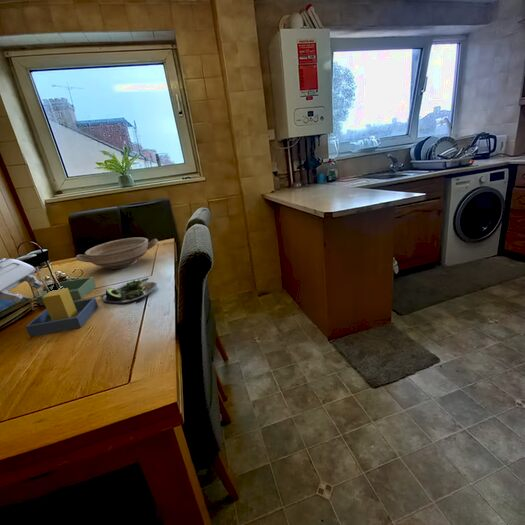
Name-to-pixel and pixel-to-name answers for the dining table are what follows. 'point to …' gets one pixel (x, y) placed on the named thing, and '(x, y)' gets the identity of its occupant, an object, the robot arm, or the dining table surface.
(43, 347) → the dining table surface
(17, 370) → the dining table surface
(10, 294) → the robot arm
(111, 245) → the ceramic bowl
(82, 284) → the green bin
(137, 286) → the salad plate
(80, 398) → the dining table surface
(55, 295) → the yellow box
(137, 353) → the dining table surface
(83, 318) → the blue bin
